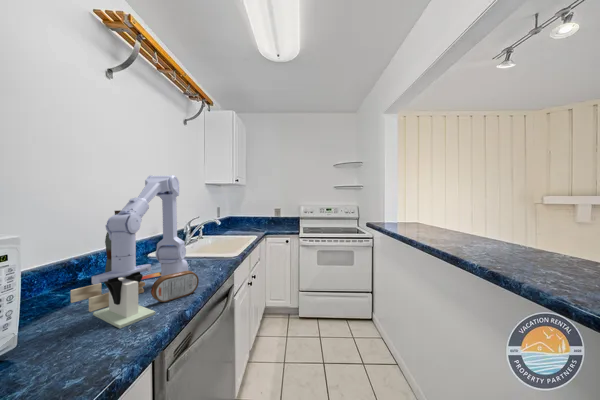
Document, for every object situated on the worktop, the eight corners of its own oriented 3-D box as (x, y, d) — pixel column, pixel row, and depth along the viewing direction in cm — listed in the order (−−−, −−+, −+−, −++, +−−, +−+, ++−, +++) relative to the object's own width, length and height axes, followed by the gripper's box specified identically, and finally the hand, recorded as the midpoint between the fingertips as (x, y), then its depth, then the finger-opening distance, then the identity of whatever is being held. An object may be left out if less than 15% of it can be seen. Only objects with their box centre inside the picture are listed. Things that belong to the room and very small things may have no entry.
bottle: (104, 277, 106) (104, 210, 106) (129, 273, 112) (129, 210, 112) (105, 282, 99) (105, 211, 99) (132, 277, 105) (132, 210, 106)
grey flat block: (120, 306, 73) (120, 277, 73) (138, 313, 68) (138, 281, 68) (108, 310, 70) (108, 280, 70) (126, 317, 65) (126, 285, 66)
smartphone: (120, 281, 101) (120, 279, 101) (160, 274, 111) (160, 271, 111) (120, 286, 95) (120, 283, 95) (163, 277, 105) (163, 275, 105)
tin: (195, 290, 88) (195, 267, 88) (200, 292, 86) (199, 269, 86) (150, 304, 76) (150, 278, 76) (154, 306, 74) (154, 279, 74)
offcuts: (130, 287, 92) (130, 278, 92) (145, 292, 87) (145, 282, 87) (120, 290, 89) (120, 280, 89) (135, 295, 84) (135, 285, 84)
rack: (100, 294, 86) (100, 283, 86) (120, 302, 78) (120, 290, 78) (70, 302, 79) (70, 290, 79) (90, 312, 71) (90, 298, 71)
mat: (127, 303, 77) (127, 301, 77) (155, 314, 69) (155, 311, 69) (93, 315, 69) (93, 312, 69) (119, 328, 61) (119, 325, 61)
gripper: (142, 249, 78) (142, 290, 77) (86, 259, 65) (86, 308, 65) (155, 251, 74) (155, 294, 74) (98, 261, 61) (98, 313, 61)
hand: (124, 301), depth 69 cm, fingers closed on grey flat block, 3 cm apart
